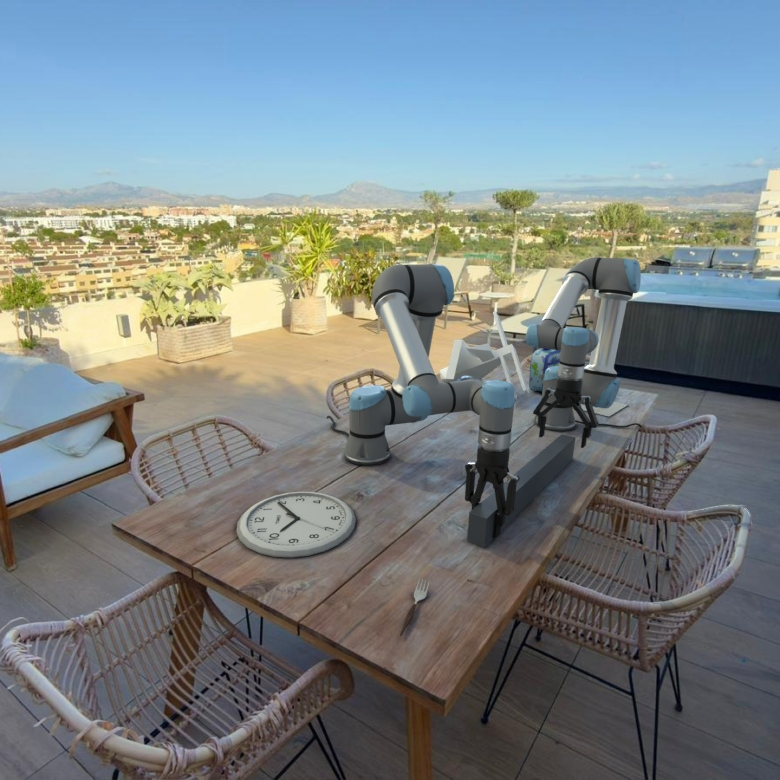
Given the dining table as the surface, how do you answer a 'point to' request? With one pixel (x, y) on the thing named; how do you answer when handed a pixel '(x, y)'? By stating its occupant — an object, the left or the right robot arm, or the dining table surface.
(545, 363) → the lunch box
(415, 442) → the dining table surface
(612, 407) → the invitation card
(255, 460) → the dining table surface
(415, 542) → the dining table surface
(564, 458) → the post
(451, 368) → the white plastic object
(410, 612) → the fork
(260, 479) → the dining table surface
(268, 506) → the wall clock
